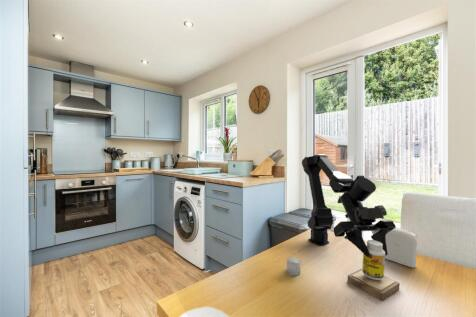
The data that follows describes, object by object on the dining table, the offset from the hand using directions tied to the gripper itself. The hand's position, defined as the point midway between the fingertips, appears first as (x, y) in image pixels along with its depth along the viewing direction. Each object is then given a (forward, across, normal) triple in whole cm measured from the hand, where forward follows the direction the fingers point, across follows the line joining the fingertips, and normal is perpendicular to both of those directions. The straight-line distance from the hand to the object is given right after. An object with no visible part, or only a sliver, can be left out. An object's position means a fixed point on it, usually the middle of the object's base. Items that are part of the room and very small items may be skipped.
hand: (377, 255), depth 65 cm
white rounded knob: (-1, -21, +15) cm, 26 cm away
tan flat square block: (+6, 0, +8) cm, 10 cm away
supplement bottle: (+4, 0, +6) cm, 7 cm away
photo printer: (-2, +21, +16) cm, 27 cm away
